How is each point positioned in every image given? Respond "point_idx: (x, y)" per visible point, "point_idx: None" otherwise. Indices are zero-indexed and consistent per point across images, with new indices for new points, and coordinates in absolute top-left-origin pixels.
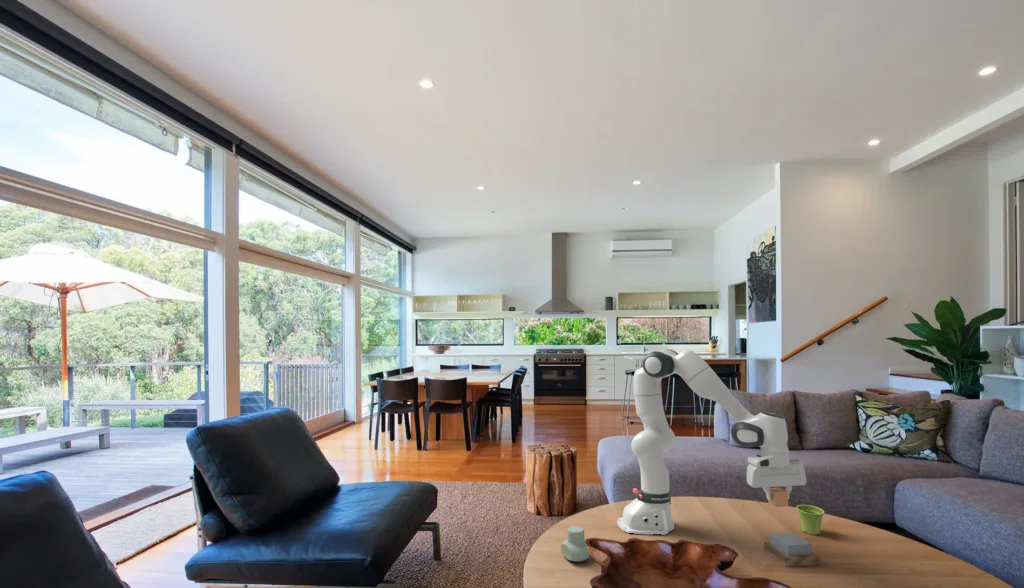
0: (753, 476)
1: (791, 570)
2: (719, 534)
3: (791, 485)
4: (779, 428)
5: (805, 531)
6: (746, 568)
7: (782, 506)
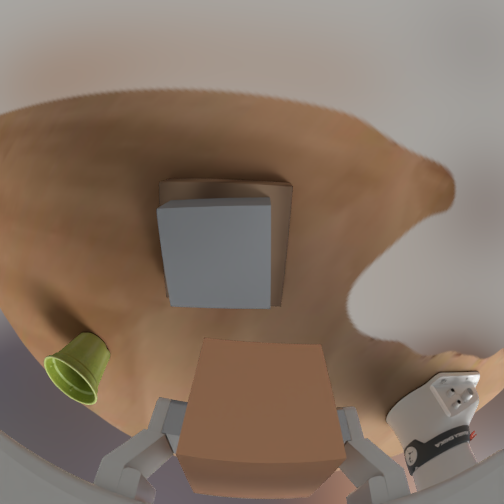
0: None
1: (286, 157)
2: (332, 379)
3: (97, 491)
4: None
5: (106, 348)
6: (410, 200)
7: (260, 344)
